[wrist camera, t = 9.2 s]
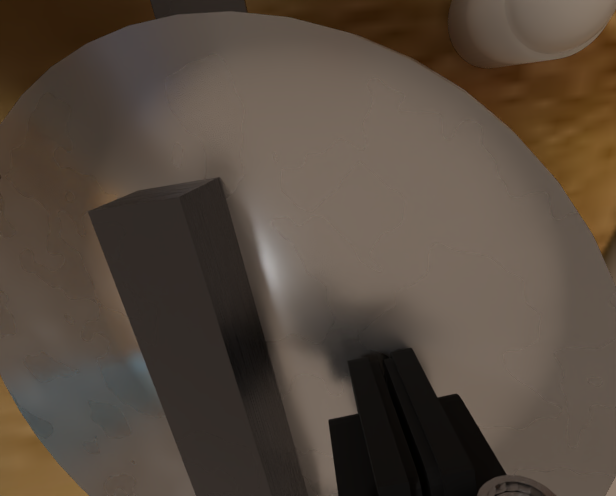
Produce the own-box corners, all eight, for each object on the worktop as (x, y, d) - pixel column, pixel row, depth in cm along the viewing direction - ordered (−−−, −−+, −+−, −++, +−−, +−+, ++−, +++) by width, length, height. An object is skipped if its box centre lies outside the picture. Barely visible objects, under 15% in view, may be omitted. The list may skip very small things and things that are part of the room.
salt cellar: (442, -24, 23) (521, -84, 16) (537, -46, 23) (664, -117, 16) (453, 77, 25) (529, 68, 17) (542, 57, 25) (658, 39, 17)
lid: (-97, 107, 14) (-214, 118, 12) (624, -120, 8) (704, -207, 5) (114, 547, 20) (66, 615, 18) (616, 631, 14) (651, 757, 11)
